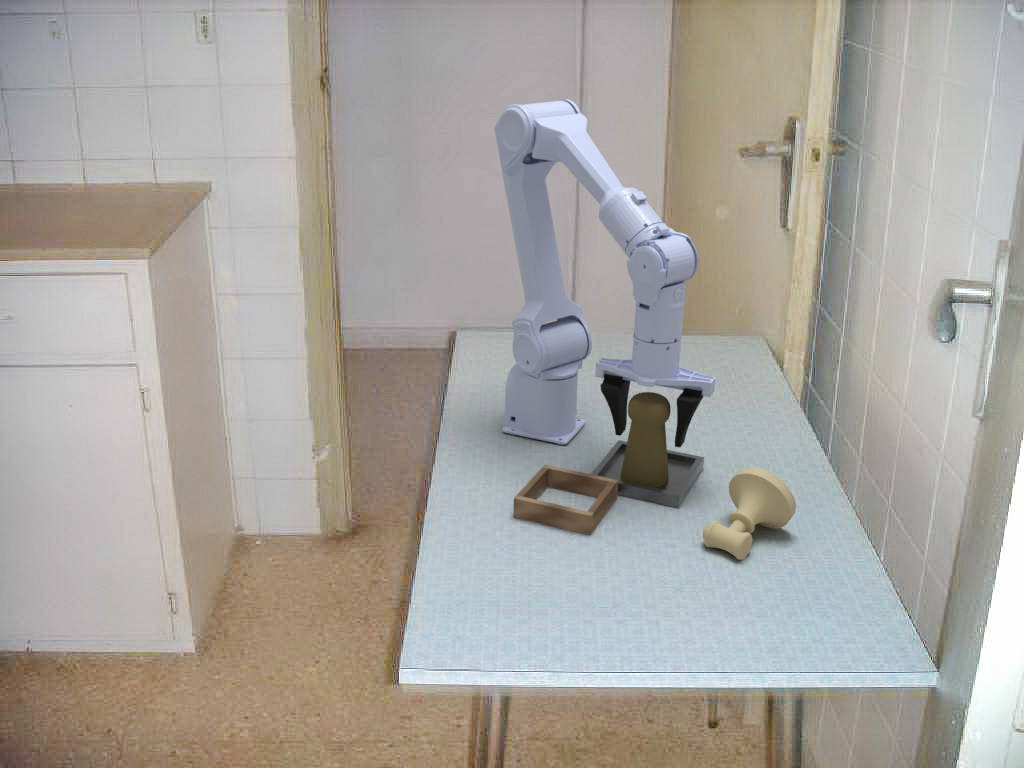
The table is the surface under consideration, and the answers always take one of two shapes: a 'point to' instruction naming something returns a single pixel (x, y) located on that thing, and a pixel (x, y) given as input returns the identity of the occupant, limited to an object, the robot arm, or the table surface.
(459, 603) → the table surface
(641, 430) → the olive peg figure
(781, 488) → the door knob
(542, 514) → the walnut stand
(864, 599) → the table surface
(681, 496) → the grey square tray
